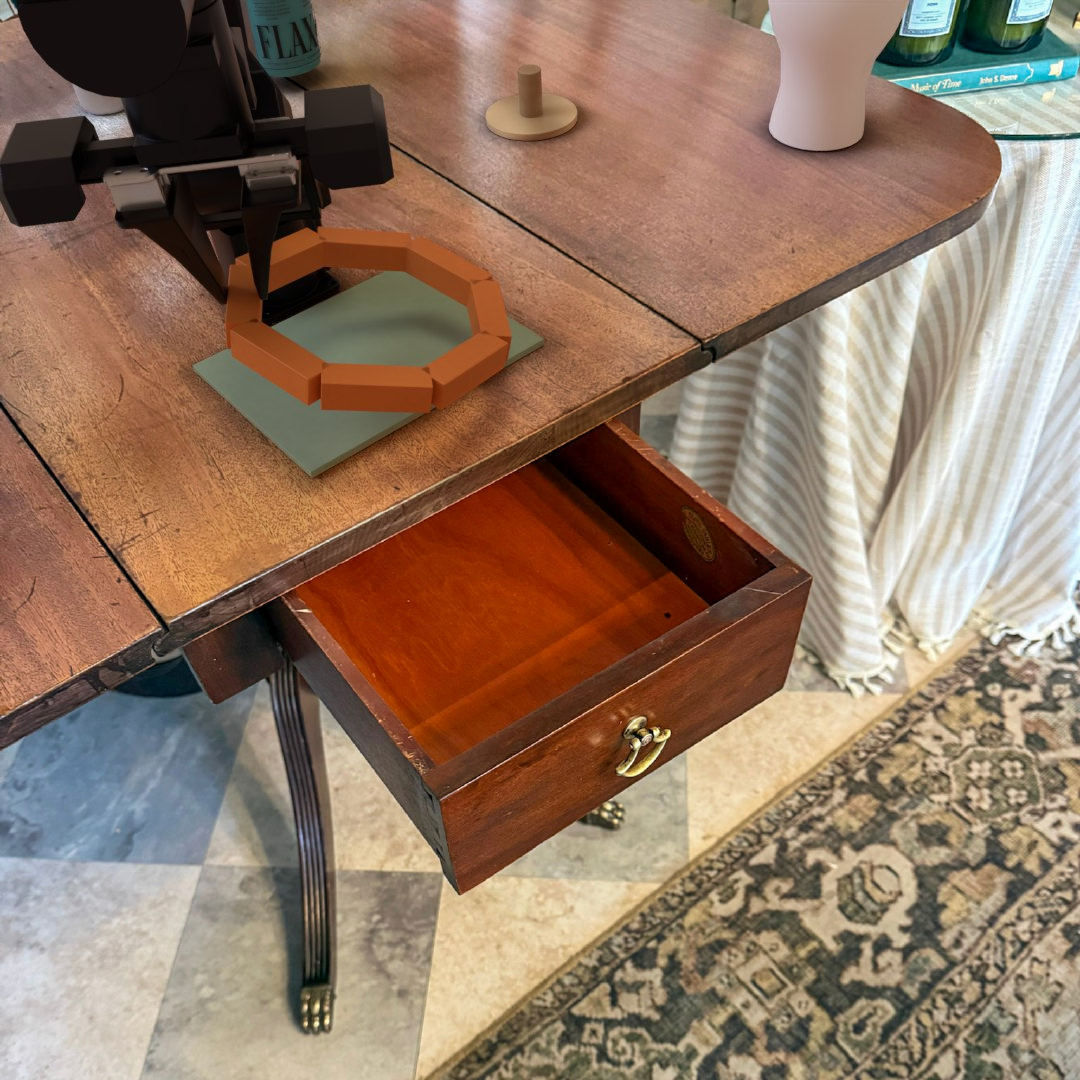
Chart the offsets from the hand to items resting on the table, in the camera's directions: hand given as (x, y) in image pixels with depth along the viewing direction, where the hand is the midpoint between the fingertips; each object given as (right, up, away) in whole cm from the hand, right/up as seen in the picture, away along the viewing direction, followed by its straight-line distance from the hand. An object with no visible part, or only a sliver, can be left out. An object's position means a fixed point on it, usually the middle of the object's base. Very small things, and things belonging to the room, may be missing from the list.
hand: (245, 298), depth 56 cm
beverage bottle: (-7, +30, +39) cm, 50 cm away
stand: (+16, +23, +31) cm, 42 cm away
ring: (+7, -1, +3) cm, 7 cm away
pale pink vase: (+40, +21, +28) cm, 53 cm away
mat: (+6, -2, +9) cm, 11 cm away
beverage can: (-23, +27, +37) cm, 51 cm away
